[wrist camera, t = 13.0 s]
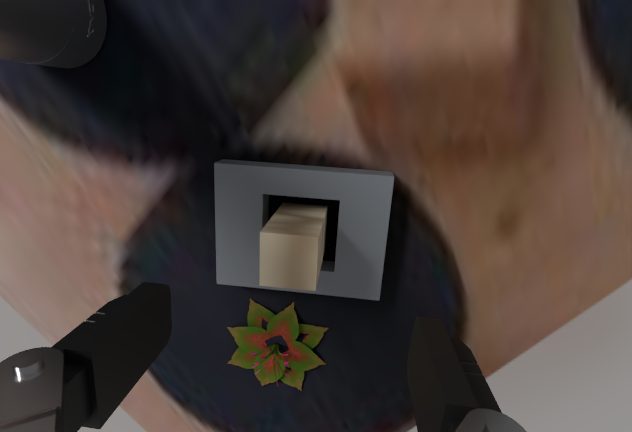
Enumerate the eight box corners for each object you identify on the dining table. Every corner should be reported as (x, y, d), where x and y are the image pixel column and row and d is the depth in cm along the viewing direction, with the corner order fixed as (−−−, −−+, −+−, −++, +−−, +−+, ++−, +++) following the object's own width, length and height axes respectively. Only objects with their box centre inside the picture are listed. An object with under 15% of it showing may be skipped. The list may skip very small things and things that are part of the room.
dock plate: (225, 272, 38) (216, 283, 36) (223, 159, 35) (214, 162, 33) (377, 288, 37) (379, 300, 35) (391, 171, 34) (394, 176, 31)
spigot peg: (281, 244, 37) (259, 285, 28) (282, 202, 36) (259, 232, 27) (325, 248, 37) (315, 290, 28) (327, 205, 35) (318, 237, 27)
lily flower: (242, 278, 39) (228, 299, 35) (347, 318, 39) (346, 344, 35) (214, 364, 43) (197, 393, 38) (309, 401, 43) (304, 434, 38)
